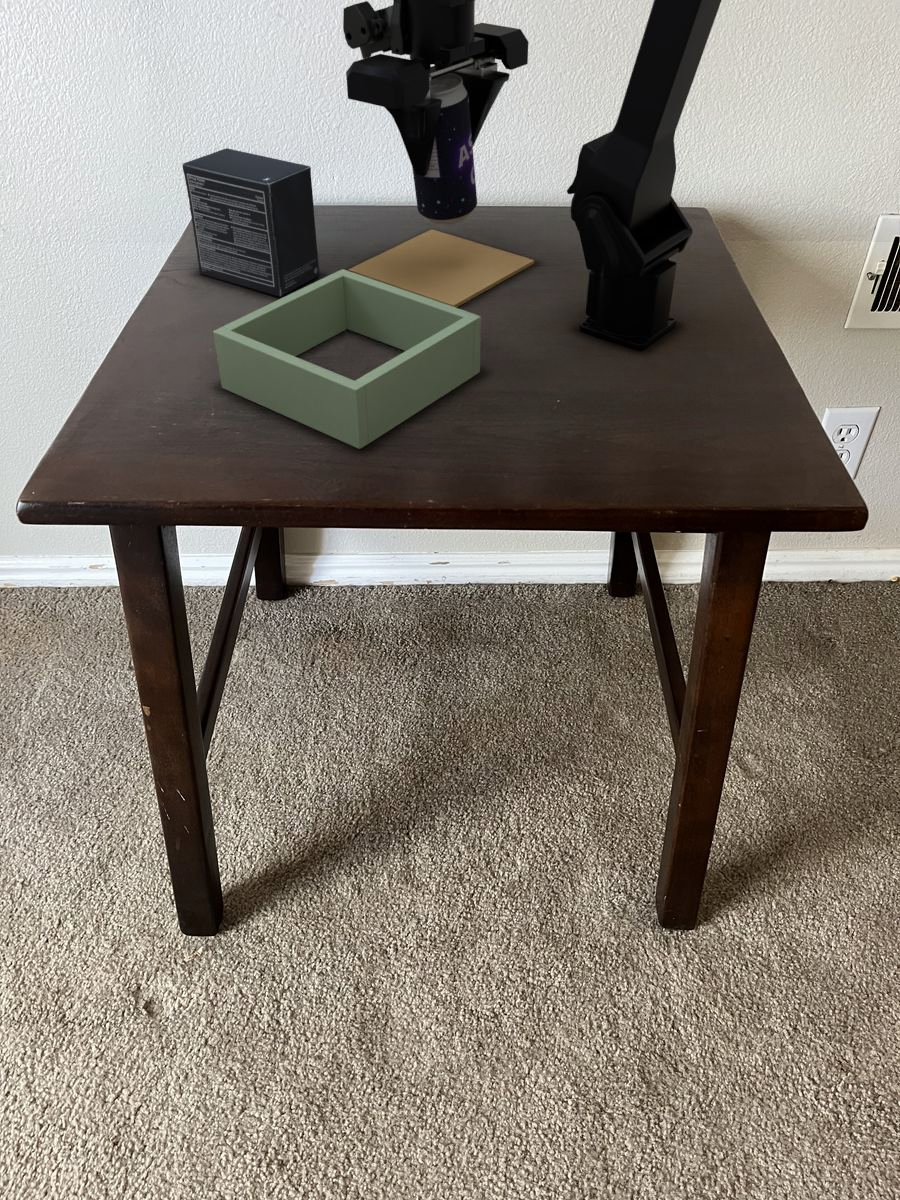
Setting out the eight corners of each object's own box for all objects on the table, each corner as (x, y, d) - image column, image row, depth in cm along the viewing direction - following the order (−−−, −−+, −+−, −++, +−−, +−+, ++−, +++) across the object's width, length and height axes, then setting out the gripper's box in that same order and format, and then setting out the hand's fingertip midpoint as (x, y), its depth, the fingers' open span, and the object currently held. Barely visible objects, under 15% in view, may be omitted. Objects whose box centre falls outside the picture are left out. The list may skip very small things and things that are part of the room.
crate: (480, 372, 86) (481, 315, 83) (359, 449, 77) (355, 389, 74) (346, 322, 93) (342, 268, 90) (221, 388, 84) (212, 331, 81)
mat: (534, 263, 103) (534, 259, 103) (453, 309, 95) (453, 305, 95) (431, 232, 109) (431, 229, 109) (348, 273, 101) (348, 269, 101)
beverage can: (472, 228, 96) (460, 94, 88) (413, 228, 98) (395, 96, 89) (482, 200, 100) (472, 69, 92) (425, 200, 101) (410, 71, 93)
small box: (324, 275, 101) (315, 163, 94) (281, 299, 97) (268, 185, 90) (241, 251, 105) (226, 143, 98) (196, 274, 101) (178, 163, 94)
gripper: (434, -56, 95) (436, 125, 105) (289, -23, 84) (308, 175, 94) (535, -43, 90) (527, 146, 100) (395, -7, 78) (402, 202, 89)
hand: (442, 166), depth 96 cm, fingers closed on beverage can, 6 cm apart
